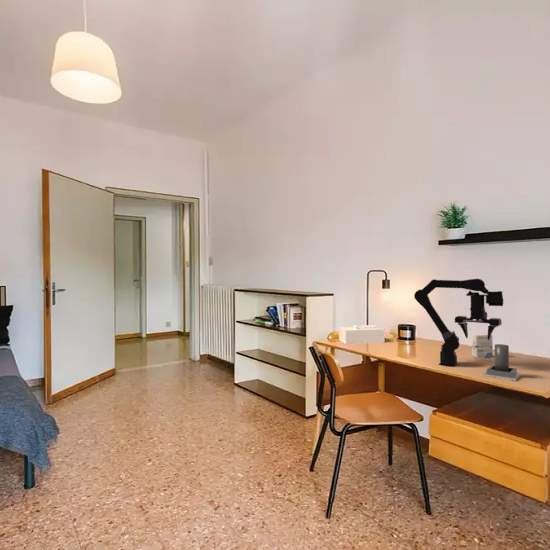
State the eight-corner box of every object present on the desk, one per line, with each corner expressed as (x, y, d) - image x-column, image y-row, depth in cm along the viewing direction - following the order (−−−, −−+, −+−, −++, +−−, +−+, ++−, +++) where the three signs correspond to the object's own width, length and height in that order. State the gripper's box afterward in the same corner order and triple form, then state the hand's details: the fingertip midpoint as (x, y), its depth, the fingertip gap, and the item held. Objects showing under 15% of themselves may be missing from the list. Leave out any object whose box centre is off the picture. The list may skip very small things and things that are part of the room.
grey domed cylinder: (492, 372, 170) (491, 345, 169) (500, 371, 172) (500, 343, 171) (503, 375, 165) (503, 347, 164) (511, 374, 167) (511, 345, 167)
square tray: (483, 376, 168) (482, 369, 168) (489, 371, 176) (489, 364, 176) (515, 381, 160) (515, 373, 160) (520, 375, 168) (520, 368, 168)
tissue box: (339, 340, 258) (338, 323, 258) (375, 339, 261) (375, 322, 261) (345, 344, 244) (345, 326, 243) (384, 343, 247) (384, 325, 247)
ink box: (487, 355, 207) (487, 333, 207) (492, 358, 202) (492, 335, 202) (471, 356, 207) (471, 333, 206) (476, 358, 202) (476, 335, 201)
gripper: (504, 305, 183) (504, 338, 183) (461, 303, 195) (461, 334, 196) (498, 307, 175) (498, 342, 175) (454, 305, 187) (454, 337, 187)
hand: (477, 339), depth 183 cm, fingers open, 9 cm apart
